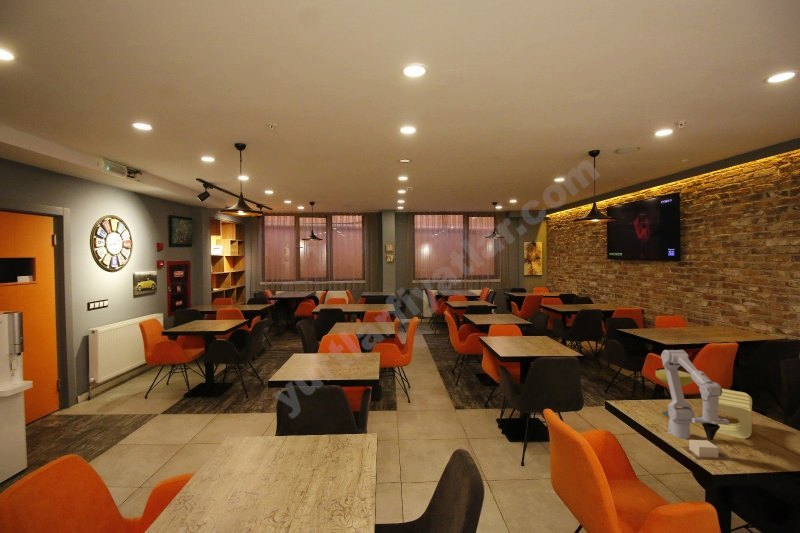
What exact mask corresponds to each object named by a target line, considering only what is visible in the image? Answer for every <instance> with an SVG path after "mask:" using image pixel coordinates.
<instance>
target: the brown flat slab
mask: <svg viewBox="0 0 800 533" xmlns="http://www.w3.org/2000/svg"><path fill="white" fill-rule="evenodd" d="M681 448H682V449H683V450H685V451H686V452H687V453H689V454H690V455H691V456H692V457H694V458H695V459H696V460H698V461H699V460H701V461H722V462H723V461H724V462H736V460H735V459H734V458H732V457H731V456H730V455H728V454H726V453H725V452H724V451H722V449H721V450H720V449H719V448H718V458H715V457H699V456H697V455H696V454H695V453H693V452H692V451H691V450H690V449H689V446H681Z"/></svg>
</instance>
